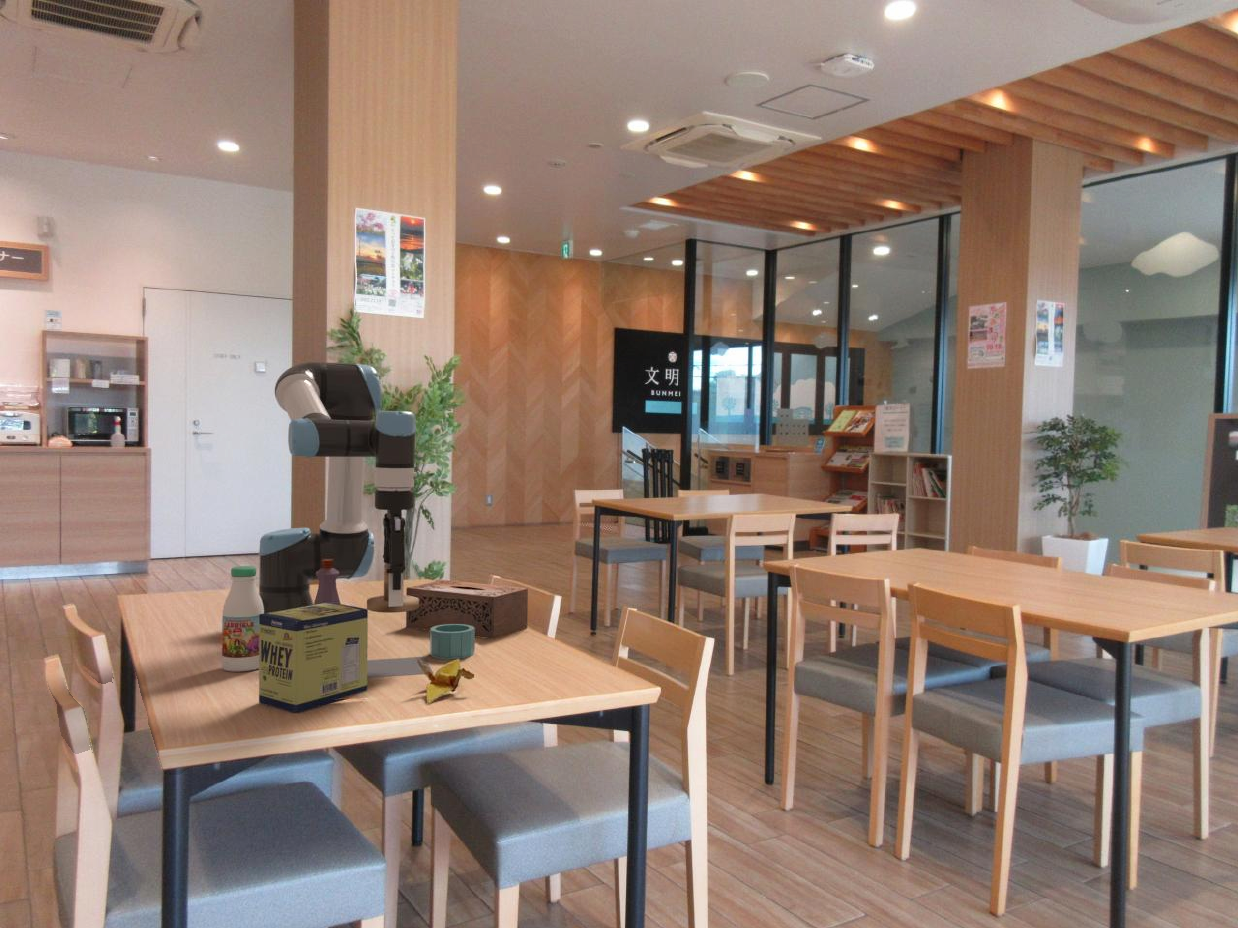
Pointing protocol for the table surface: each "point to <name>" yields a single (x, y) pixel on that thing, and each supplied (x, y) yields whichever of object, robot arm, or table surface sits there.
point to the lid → (382, 601)
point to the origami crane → (444, 679)
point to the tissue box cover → (469, 607)
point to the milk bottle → (241, 622)
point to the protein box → (312, 655)
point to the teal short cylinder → (452, 641)
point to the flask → (327, 583)
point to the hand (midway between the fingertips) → (393, 600)
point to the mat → (395, 667)
